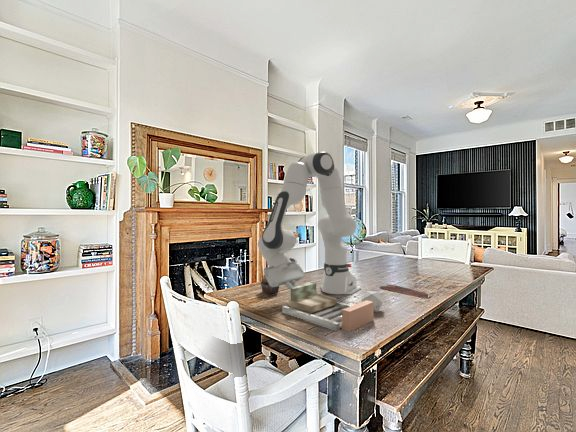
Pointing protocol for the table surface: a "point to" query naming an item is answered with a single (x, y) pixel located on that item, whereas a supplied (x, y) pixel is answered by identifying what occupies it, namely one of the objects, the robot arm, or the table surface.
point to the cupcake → (268, 287)
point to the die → (373, 299)
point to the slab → (309, 298)
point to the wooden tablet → (404, 290)
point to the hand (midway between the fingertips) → (294, 290)
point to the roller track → (320, 315)
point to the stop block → (357, 315)
